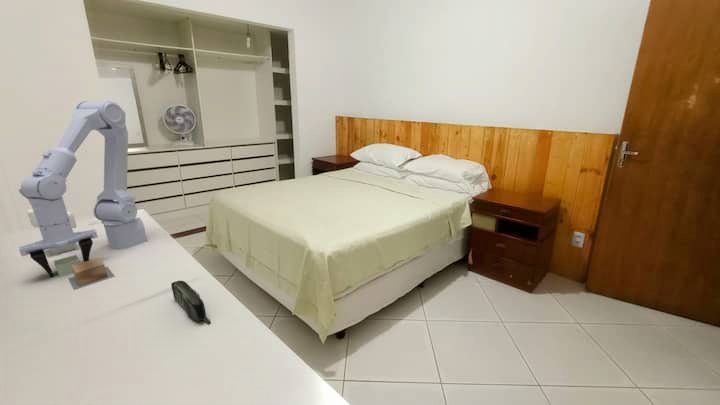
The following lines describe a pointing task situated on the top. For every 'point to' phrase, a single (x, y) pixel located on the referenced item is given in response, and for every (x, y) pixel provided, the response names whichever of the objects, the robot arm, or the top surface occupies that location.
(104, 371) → the top surface
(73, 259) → the green cube
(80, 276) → the walnut block
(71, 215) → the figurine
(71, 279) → the base tile
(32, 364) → the top surface
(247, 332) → the top surface
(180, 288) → the dark grey elongated piece
